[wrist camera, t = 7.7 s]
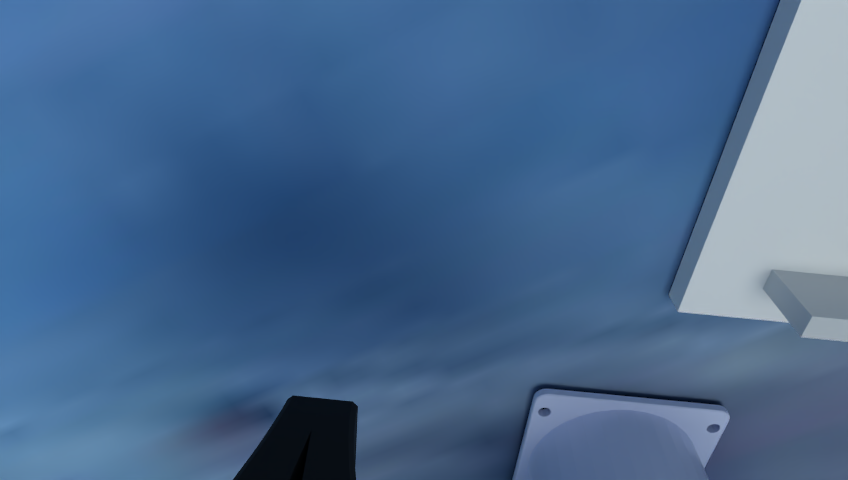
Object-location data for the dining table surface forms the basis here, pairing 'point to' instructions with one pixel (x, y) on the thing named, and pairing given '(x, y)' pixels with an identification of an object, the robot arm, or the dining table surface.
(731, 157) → the gauge frame
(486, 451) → the dining table surface
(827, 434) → the dining table surface
